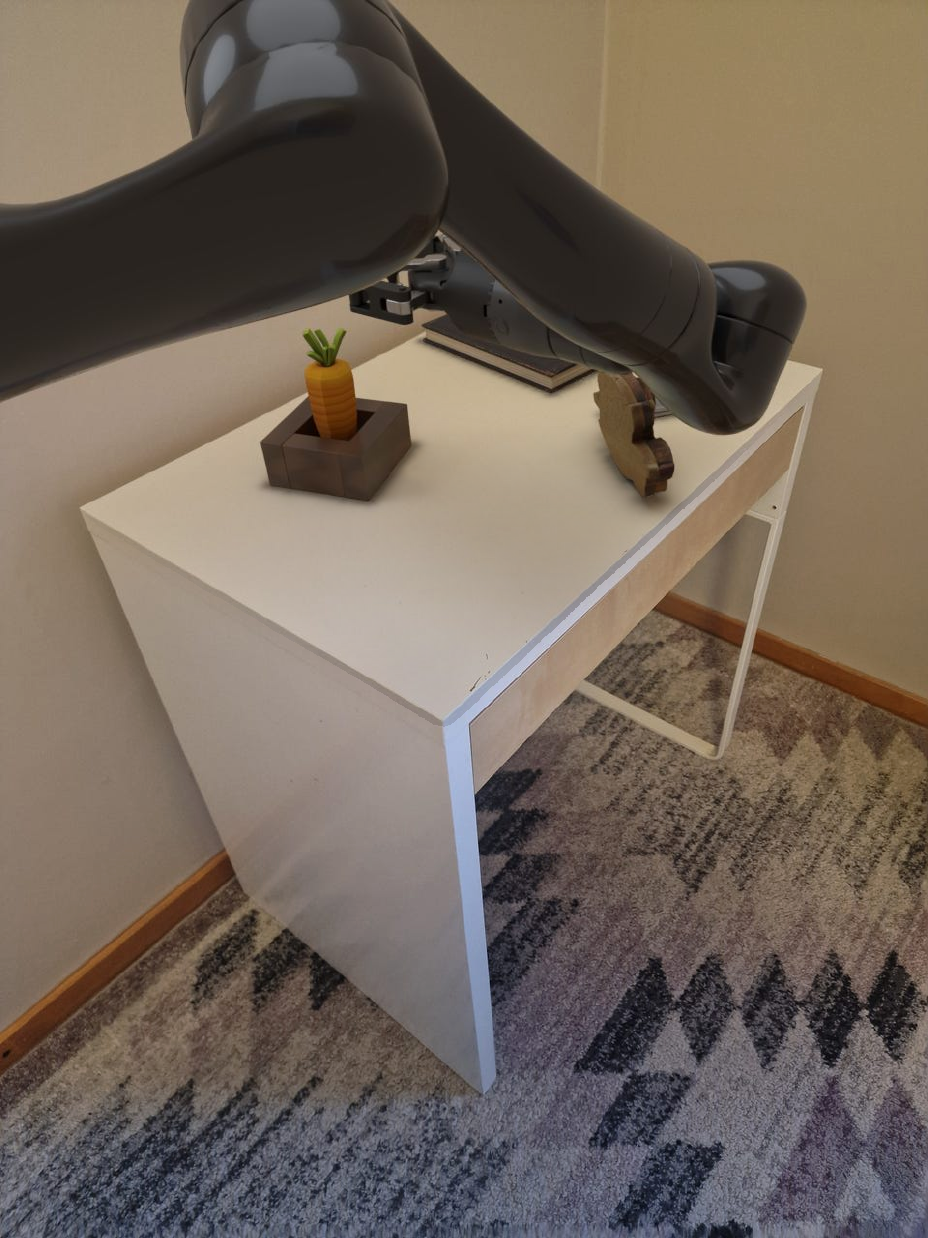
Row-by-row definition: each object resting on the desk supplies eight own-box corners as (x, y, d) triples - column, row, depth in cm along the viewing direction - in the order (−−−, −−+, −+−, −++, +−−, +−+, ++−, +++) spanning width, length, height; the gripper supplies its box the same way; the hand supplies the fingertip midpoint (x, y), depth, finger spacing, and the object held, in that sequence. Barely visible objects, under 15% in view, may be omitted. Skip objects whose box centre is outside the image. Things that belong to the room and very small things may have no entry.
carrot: (372, 454, 91) (353, 316, 82) (359, 479, 88) (338, 337, 78) (327, 452, 92) (303, 315, 82) (313, 476, 89) (286, 336, 79)
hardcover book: (550, 393, 100) (551, 374, 98) (422, 341, 113) (421, 324, 112) (637, 349, 108) (638, 331, 106) (507, 305, 121) (507, 289, 120)
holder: (269, 485, 88) (259, 442, 85) (319, 433, 96) (312, 391, 92) (368, 501, 85) (361, 456, 81) (411, 446, 92) (407, 403, 89)
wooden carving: (688, 506, 81) (701, 410, 74) (643, 516, 80) (653, 419, 74) (616, 428, 93) (622, 339, 86) (577, 435, 92) (580, 346, 86)
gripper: (581, 217, 64) (422, 188, 73) (460, 273, 56) (297, 233, 65) (577, 315, 69) (429, 277, 78) (465, 380, 61) (313, 329, 70)
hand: (369, 257), depth 71 cm, fingers open, 8 cm apart
